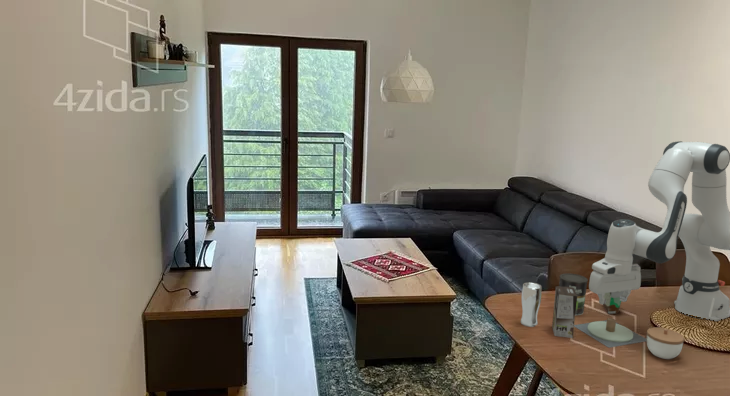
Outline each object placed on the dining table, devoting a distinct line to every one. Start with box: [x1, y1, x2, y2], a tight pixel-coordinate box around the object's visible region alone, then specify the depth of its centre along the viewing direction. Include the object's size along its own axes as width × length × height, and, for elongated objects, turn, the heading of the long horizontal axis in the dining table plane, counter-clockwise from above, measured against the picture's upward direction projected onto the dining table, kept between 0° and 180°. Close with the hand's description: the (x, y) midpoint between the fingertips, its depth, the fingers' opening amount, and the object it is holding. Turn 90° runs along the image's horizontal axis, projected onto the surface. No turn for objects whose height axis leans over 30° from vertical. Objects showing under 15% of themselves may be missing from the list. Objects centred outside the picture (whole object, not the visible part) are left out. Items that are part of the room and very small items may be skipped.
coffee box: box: [551, 285, 578, 339], centre depth 190 cm, size 9×6×16 cm
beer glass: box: [520, 282, 543, 328], centre depth 197 cm, size 7×7×15 cm
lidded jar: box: [646, 326, 685, 360], centre depth 175 cm, size 11×11×9 cm
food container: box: [602, 291, 624, 315], centre depth 210 cm, size 12×6×10 cm, turn 168°
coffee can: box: [558, 273, 589, 316], centre depth 209 cm, size 10×10×14 cm
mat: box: [574, 319, 647, 349], centre depth 191 cm, size 18×18×1 cm
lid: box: [588, 317, 634, 342], centre depth 191 cm, size 15×15×5 cm
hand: (612, 302), depth 189 cm, fingers open, 8 cm apart
